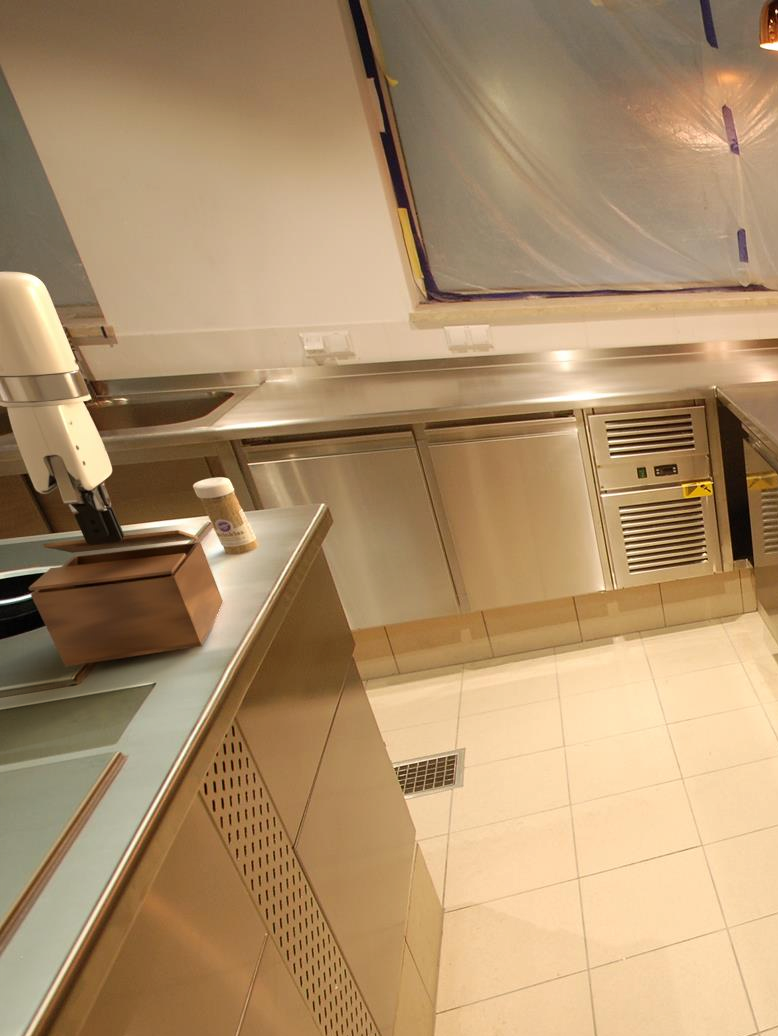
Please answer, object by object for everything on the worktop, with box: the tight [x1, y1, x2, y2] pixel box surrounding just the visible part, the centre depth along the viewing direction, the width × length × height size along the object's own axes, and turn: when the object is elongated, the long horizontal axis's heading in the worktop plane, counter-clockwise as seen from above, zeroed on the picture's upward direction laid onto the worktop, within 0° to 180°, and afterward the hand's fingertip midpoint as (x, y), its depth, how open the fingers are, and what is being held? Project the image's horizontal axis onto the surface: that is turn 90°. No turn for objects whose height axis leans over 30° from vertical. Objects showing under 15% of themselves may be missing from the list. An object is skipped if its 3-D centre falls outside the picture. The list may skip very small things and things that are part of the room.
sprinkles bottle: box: [192, 476, 260, 555], centre depth 132 cm, size 5×5×14 cm
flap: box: [42, 529, 199, 554], centre depth 109 cm, size 13×7×1 cm, turn 119°
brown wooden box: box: [28, 541, 224, 667], centre depth 108 cm, size 13×15×10 cm
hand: (106, 541), depth 104 cm, fingers closed
